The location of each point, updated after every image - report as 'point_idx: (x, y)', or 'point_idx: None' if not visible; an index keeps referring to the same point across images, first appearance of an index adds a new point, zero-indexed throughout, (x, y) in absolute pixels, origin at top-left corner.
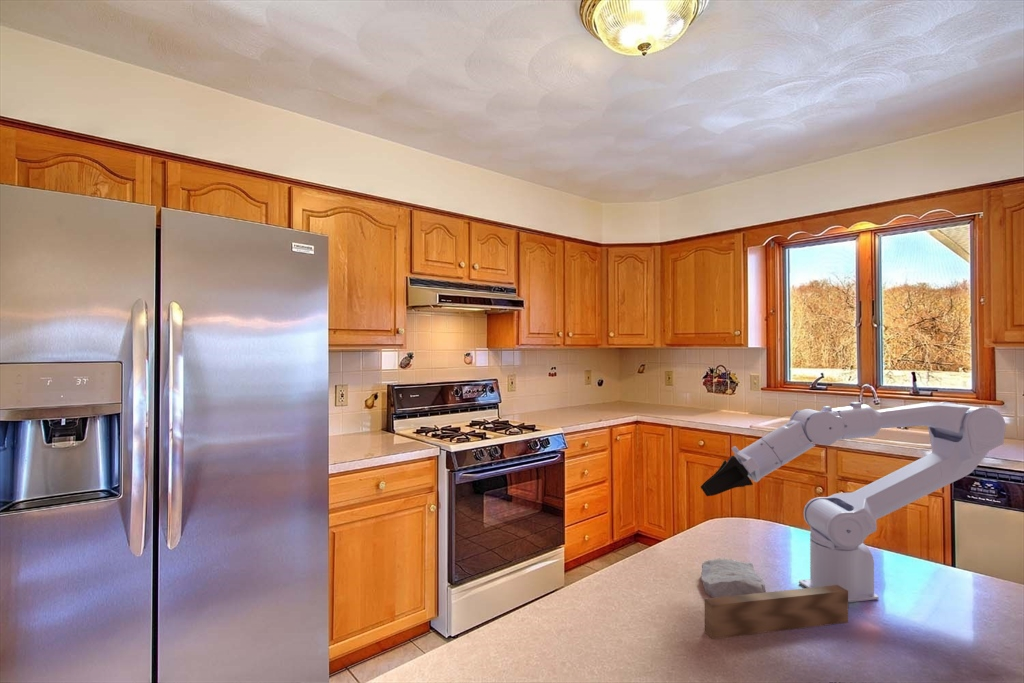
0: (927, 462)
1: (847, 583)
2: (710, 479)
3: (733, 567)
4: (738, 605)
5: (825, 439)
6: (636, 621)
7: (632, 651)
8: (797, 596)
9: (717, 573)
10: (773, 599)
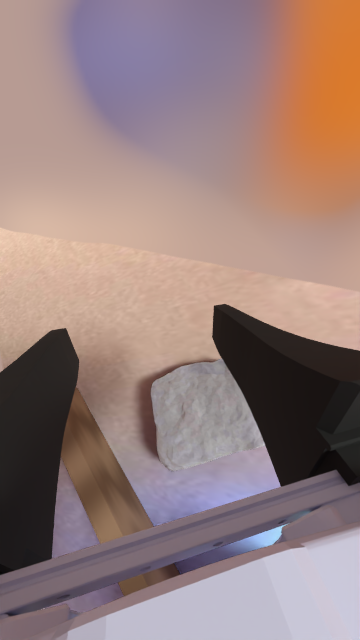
0: None
1: None
2: (31, 347)
3: (220, 412)
4: None
5: None
6: (75, 320)
7: (27, 332)
8: (98, 538)
9: (192, 387)
10: (77, 489)
